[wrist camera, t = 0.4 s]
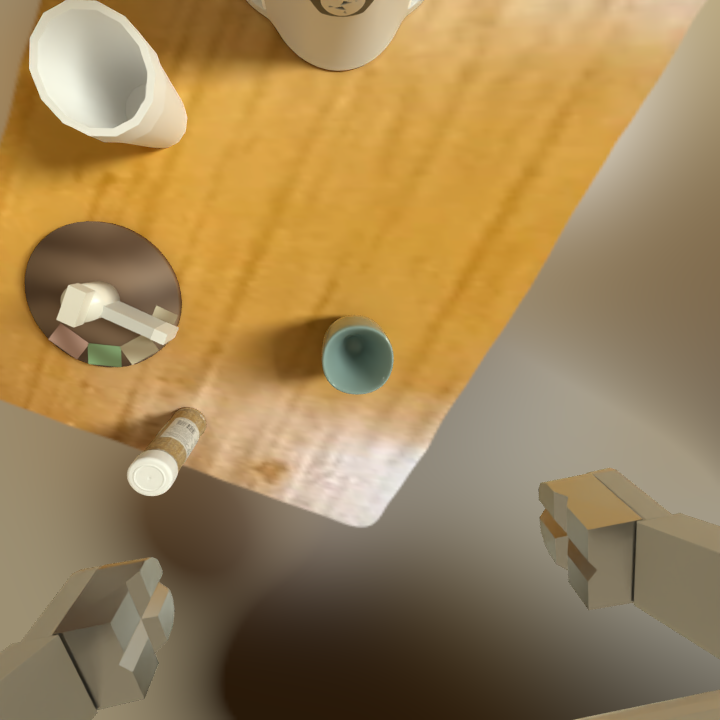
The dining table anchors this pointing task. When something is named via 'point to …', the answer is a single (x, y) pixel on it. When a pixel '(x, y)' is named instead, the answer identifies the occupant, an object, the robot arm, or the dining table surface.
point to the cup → (356, 355)
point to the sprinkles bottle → (166, 453)
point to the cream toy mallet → (109, 311)
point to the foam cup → (104, 76)
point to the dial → (109, 264)
